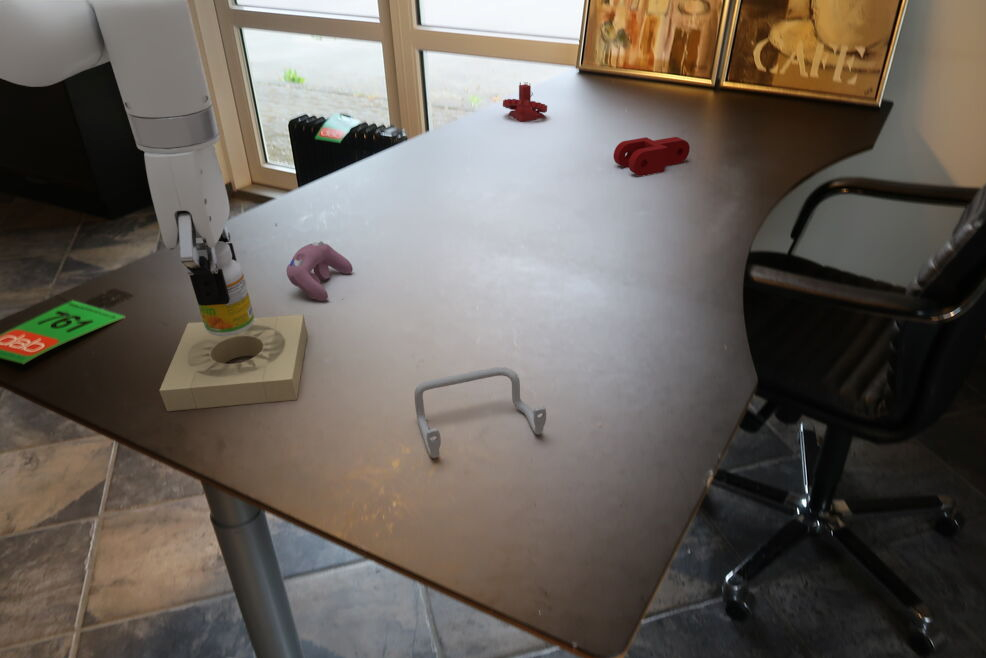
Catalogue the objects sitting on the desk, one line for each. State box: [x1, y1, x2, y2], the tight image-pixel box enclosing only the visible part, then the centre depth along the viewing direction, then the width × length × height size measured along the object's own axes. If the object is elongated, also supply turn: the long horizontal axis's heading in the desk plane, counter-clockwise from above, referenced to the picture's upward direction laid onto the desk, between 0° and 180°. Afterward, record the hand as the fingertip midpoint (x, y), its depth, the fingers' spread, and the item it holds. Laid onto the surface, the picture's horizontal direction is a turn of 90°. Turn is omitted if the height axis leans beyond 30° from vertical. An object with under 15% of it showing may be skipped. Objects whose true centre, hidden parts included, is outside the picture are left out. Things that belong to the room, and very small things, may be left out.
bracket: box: [414, 366, 547, 459], centre depth 76 cm, size 13×8×5 cm, turn 110°
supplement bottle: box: [197, 241, 255, 336], centre depth 79 cm, size 5×5×10 cm
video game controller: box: [286, 241, 354, 302], centre depth 101 cm, size 10×5×7 cm, turn 168°
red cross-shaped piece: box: [502, 82, 548, 123], centre depth 170 cm, size 11×12×8 cm
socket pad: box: [159, 314, 308, 412], centre depth 84 cm, size 14×14×3 cm
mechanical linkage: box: [613, 136, 691, 177], centre depth 145 cm, size 16×7×5 cm, turn 119°
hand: (219, 288), depth 79 cm, fingers closed on supplement bottle, 5 cm apart
